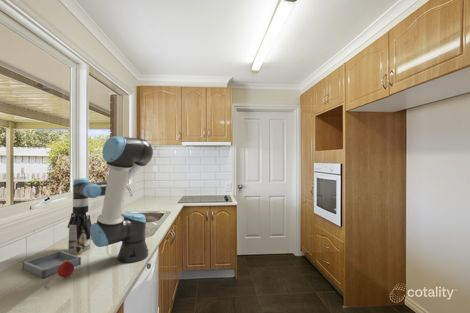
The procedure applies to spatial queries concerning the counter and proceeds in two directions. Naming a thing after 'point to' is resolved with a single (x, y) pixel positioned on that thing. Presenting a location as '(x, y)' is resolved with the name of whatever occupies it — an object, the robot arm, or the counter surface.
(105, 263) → the counter surface
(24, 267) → the tray
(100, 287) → the counter surface
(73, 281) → the counter surface
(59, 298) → the counter surface
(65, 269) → the onion
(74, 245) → the coffee box
